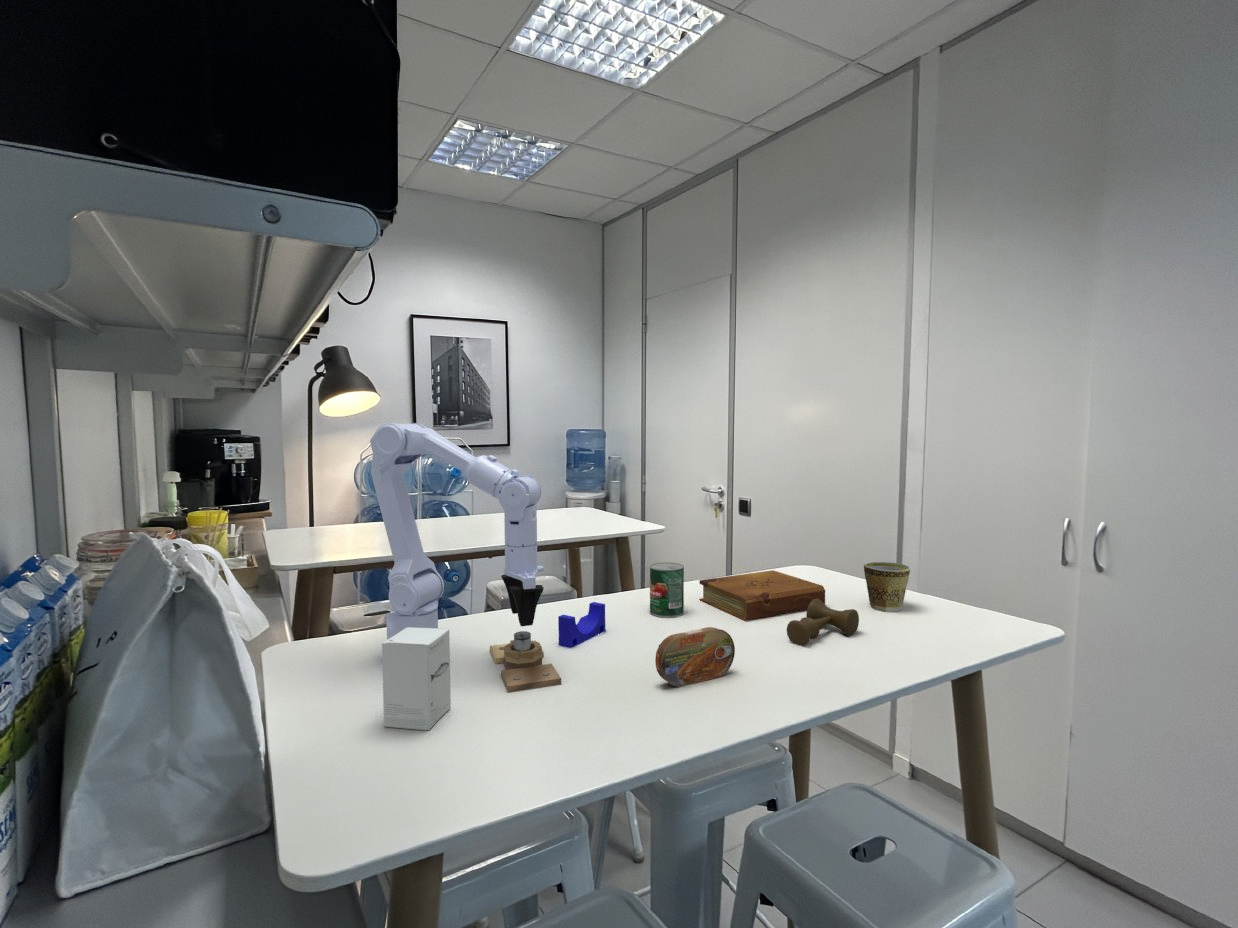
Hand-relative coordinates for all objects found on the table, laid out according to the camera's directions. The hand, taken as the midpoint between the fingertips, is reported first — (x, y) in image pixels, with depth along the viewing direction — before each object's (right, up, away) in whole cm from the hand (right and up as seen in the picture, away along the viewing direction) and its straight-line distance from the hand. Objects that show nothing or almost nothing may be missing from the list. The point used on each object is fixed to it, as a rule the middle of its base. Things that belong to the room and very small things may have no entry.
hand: (522, 618), depth 112 cm
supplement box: (-13, -10, -19) cm, 25 cm away
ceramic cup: (+80, -6, +36) cm, 88 cm away
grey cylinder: (0, -9, 0) cm, 9 cm away
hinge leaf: (-1, -9, +4) cm, 9 cm away
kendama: (+60, -8, +17) cm, 63 cm away
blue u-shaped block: (+9, -8, +16) cm, 20 cm away
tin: (+30, -9, -5) cm, 32 cm away
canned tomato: (+28, -7, +32) cm, 44 cm away
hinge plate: (+1, -9, -3) cm, 9 cm away
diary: (+52, -7, +38) cm, 65 cm away
